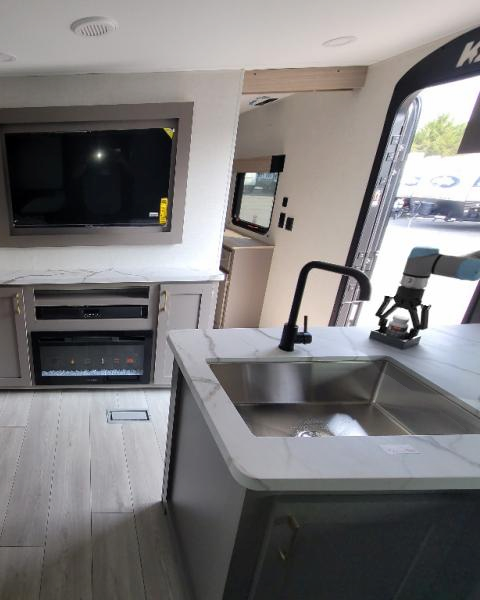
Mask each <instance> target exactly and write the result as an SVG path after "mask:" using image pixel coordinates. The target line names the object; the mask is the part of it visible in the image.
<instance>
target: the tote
mask: <svg viewBox="0 0 480 600" xmlns="http://www.w3.org/2000/svg"><path fill="white" fill-rule="evenodd" d="M388 325H389V324H387V325H386V328H385V331H384V333H380V332H379V328H380V327H377V328H374V329H371V330H370V332H369V336H368V338H369V339H370V340H374V341H377V342H379V343H381V344H385V345H388V346H390V347H394V348H396V349H399V350H400V351H401V350H403V351H404V350H406V349H408V348H412V347H414V346H417V345H418V344H420V341H421V338H422V335H420V334H418V335H417V336H416V337H413V338H410V339H407V337H408V334H409V331H407V332H406V334H405V337H404V340H400V339H397V338H394V337H392V336H389V335H386V331H387V328H388Z"/></svg>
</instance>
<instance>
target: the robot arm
mask: <svg viewBox="0 0 480 600" xmlns="http://www.w3.org/2000/svg"><path fill="white" fill-rule="evenodd" d="M431 275H435V276H440V277H445V278H451V279H455V280H460V281H468V282H469V281H470V282H476V281H478V280H480V249H479V250H475V251H471V252H468V253H465V254H462V255H449V254H442V253H440V248H439V247H437V246H433V245H432V246H431V245H415V246H412V247H411V249H410V250H409V253H408V255H407V257H406V261H405V265H404V268H403V271H402V273H401V277H400V280H399V285H397V289H396V291H395V295H392V294H385V295H384V297H383V301H382V303H381V304H380V306H379V307H378V309H377V310H376V312H375V314H374V316H376V317H378V319H379V320H378V323H377V325H378V326H379V327H378V328H379V332H380V333H384V331H385V328H386V325H388V322H389V319H388V317H389V316H390V315H392V314H393V313H394V312H395V311H396V310H397V309H398V308H399V309H404V310H406V311H408V313H409V316H410V321H411V324H412V327H411V328H410V329H409V331H408V332H409V334H408V337H407V339H410V338H413V337H416V336H417V335H419V333H420V331H425V330H428V328H429V317H430V316H429V315H430V309H431V308H432V305H431V304H430V303H428V304H427V303H424V302H423V300H422V299H423V297H424V294H425V292H426V288H427V286H428V283H429V280H430V277H431ZM391 301H394V304H392V306H390V308H388V309H387V307H388V306H389V304H390V303H391ZM419 306H420V309H421V310H420V317H419V313H418V307H419ZM386 309H387V310H386ZM385 310H386V311H385Z"/></svg>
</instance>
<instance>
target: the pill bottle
mask: <svg viewBox="0 0 480 600" xmlns="http://www.w3.org/2000/svg"><path fill="white" fill-rule="evenodd" d="M388 322H389V323H388V324H387V325H388V328H387V331H386V335H389V336H392V337H394V338H397V339H400V340H404V337H405V334H406V332H408V329H409V322H410V318H409V317H408V316H403V315H399V314H398V315H397V314H396V315H393V316H392V320H390V321H388Z"/></svg>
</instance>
